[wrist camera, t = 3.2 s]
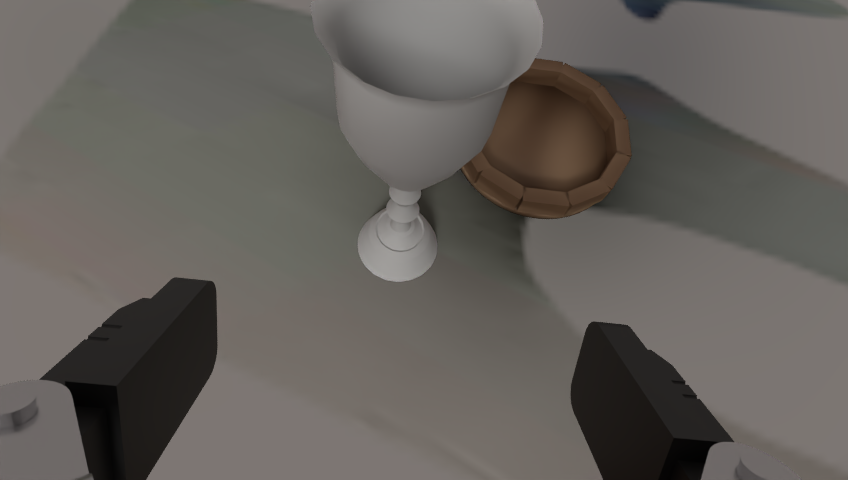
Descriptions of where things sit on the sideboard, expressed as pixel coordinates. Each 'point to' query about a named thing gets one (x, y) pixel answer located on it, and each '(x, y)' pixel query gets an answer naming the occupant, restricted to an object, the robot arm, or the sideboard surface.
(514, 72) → the chalice
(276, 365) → the sideboard surface
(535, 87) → the tan segmented-rim dish
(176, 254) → the sideboard surface
